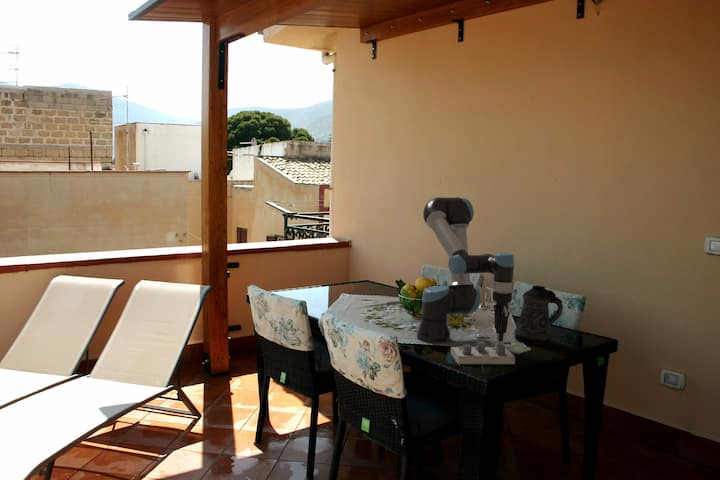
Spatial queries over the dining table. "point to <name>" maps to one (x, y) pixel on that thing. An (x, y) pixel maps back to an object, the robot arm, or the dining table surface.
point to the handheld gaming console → (513, 347)
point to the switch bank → (482, 356)
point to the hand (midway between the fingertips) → (499, 347)
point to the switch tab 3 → (500, 350)
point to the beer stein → (537, 316)
